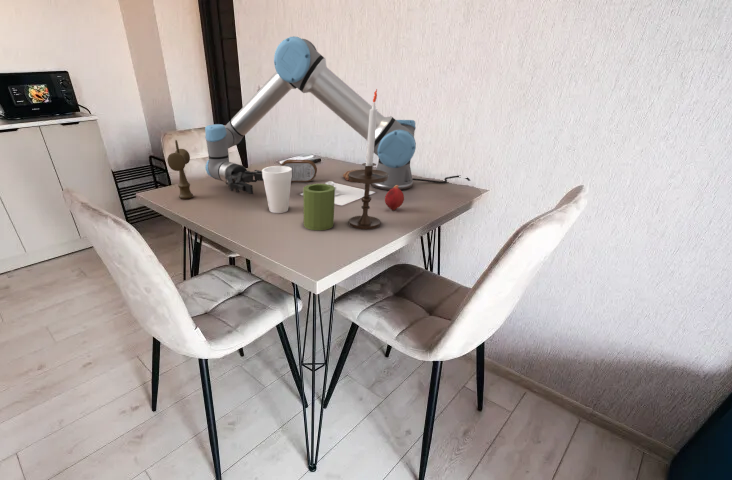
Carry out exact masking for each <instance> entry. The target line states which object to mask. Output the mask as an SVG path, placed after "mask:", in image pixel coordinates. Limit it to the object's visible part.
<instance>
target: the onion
mask: <svg viewBox="0 0 732 480" xmlns="http://www.w3.org/2000/svg"><path fill="white" fill-rule="evenodd" d="M398 187H399V186H398V185H395V186H394V188H392V189H390V190H387V193H386V194H385V196H384V203H385V205H386V206H387V207H388V208H389V209H390V210H392V211H396V210H397V209H398V208H400V207H401V206H402V205H403V203H404V201H405V195H404V193H403V190H400V189H399V188H398Z"/></svg>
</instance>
